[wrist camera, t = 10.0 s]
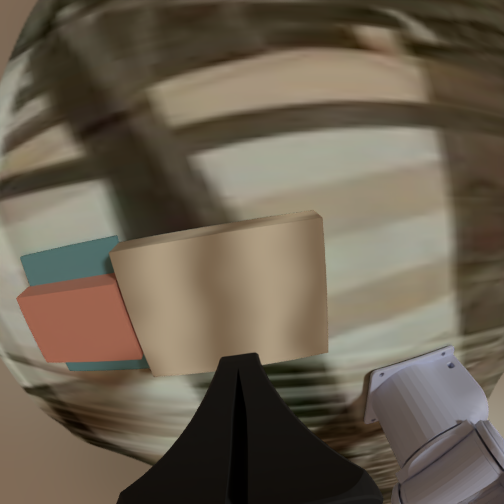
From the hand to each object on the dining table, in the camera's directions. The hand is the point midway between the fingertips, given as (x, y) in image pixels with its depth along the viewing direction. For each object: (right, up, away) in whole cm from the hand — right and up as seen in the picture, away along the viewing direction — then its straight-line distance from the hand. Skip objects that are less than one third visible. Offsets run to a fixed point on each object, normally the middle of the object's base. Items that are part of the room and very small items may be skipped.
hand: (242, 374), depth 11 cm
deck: (-1, +2, +10) cm, 11 cm away
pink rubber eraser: (-12, 0, +10) cm, 16 cm away
